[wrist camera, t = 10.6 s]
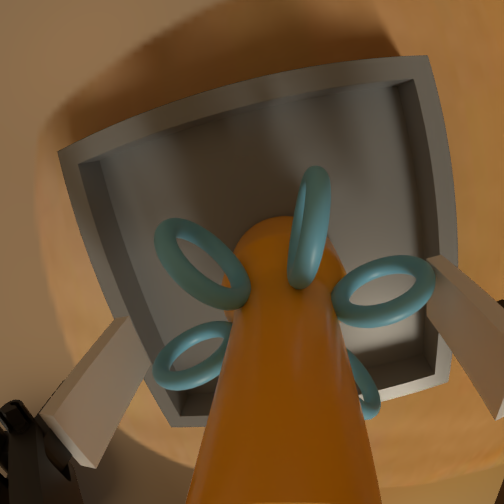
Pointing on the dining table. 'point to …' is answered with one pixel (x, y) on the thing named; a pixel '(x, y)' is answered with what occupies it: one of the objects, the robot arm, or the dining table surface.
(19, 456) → the robot arm
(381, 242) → the tray
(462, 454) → the dining table surface
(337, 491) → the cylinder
